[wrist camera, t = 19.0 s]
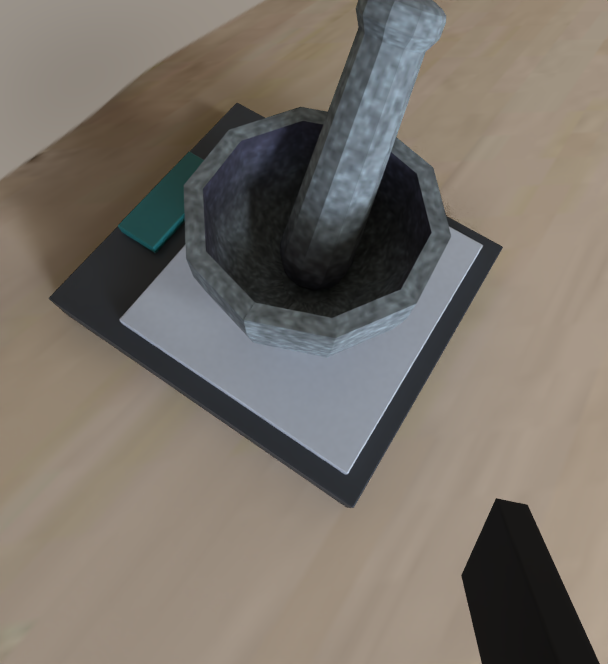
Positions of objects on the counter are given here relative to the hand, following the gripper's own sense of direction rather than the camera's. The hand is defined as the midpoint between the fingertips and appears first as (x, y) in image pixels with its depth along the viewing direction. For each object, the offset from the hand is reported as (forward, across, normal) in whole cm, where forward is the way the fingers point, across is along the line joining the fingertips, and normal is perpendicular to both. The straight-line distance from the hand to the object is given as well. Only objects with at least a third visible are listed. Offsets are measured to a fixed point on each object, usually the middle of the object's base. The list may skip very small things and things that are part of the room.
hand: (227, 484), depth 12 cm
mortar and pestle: (+13, +1, +1) cm, 13 cm away
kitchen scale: (+16, -1, 0) cm, 16 cm away
